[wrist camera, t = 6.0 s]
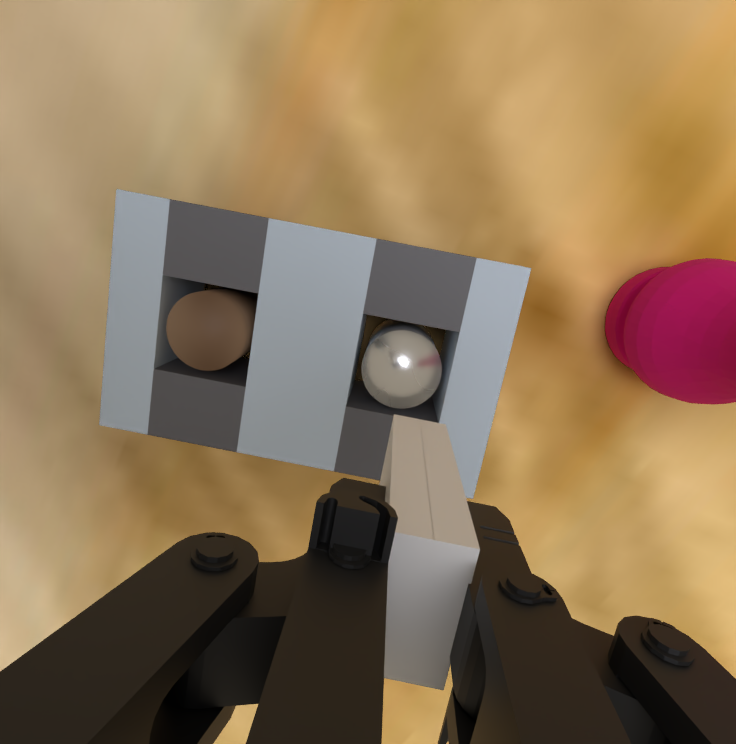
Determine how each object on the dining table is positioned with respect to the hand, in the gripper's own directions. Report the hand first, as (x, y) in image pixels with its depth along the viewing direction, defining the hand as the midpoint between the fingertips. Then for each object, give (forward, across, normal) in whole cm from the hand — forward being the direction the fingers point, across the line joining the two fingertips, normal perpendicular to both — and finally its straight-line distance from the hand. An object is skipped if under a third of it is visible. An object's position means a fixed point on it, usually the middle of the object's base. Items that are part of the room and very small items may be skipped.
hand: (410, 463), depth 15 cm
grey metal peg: (+17, 0, 0) cm, 17 cm away
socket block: (+17, -5, 0) cm, 18 cm away
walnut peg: (+17, -10, 0) cm, 20 cm away
